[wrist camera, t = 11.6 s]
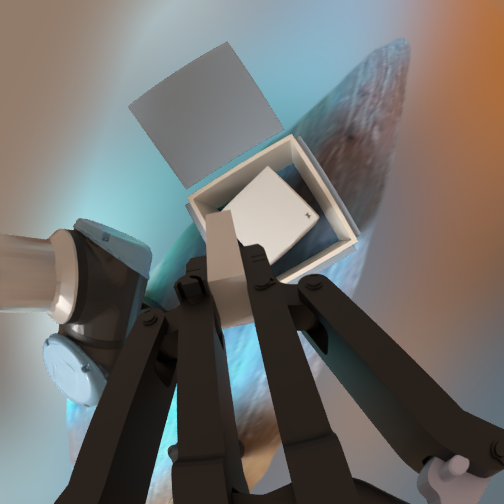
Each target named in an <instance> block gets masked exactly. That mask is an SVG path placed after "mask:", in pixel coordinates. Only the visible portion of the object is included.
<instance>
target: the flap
mask: <svg viewBox="0 0 504 504" xmlns="http://www.w3.org/2000/svg"><path fill="white" fill-rule="evenodd" d="M128 108H129V109H130V110H131V112H132V113H133V115H134V116H135V118H136V119H137V121H138V122H139V123H140V125H141V126H142V128H143V129H144V131H145V132H146V133H147V135H148V136H149V137H150V139H151V140H152V142H153V143H154V145H155V146H156V148H157V149H158V150H159V152H160V153H161V155H162V156H163V157H164V159H165V160H166V162H167V163H168V164H169V166H170V167H171V169H172V170H173V171H174V173H175V174H176V176H177V177H178V178H179V180H180V181H181V182H182V184H183V185H184V187H185V188H186V189H188V188H189V187H191V186H192V185H194V184H195V183H197V182H198V181H200V180H201V179H203V178H205V177H206V176H208V175H209V174H211V173H212V172H214V171H215V170H217V169H218V168H220V167H222V166H223V165H225V164H227V163H228V162H230V161H231V160H233V159H234V158H236V157H238V156H240V155H241V154H243V153H244V152H246V151H248V150H249V149H251V148H253V147H254V146H256V145H258V144H260V143H261V142H263V141H265V140H267V139H268V138H270V137H272V136H273V135H275V134H277V133H279V132H281V131H282V130H284V129H283V127H282V125H281V123H280V122H279V120H278V118H277V117H276V115H275V114H274V112H273V110H272V108H271V107H270V105H269V104H268V102H267V100H266V99H265V97H264V96H263V94H262V92H261V91H260V89H259V88H258V86H257V85H256V83H255V81H254V80H253V78H252V77H251V75H250V74H249V72H248V71H247V69H246V68H245V66H244V65H243V63H242V62H241V61H240V59H239V57H238V56H237V55H236V53H235V52H234V50H233V49H232V47H231V46H230V45H229V43H228V42H225V43H224V44H222V45H220V46H218V47H216V48H214V49H213V50H211V51H209V52H207V53H206V54H204V55H202V56H200V57H199V58H197V59H195V60H194V61H192V62H191V63H189V64H187V65H186V66H184V67H183V68H181V69H180V70H178V71H176V72H175V73H173V74H172V75H170V76H169V77H167V78H166V79H164V80H163V81H162V82H160V83H159V84H157V85H156V86H154V87H153V88H152V89H150V90H149V91H147V92H146V93H145V94H143V95H142V96H141V97H139V98H138V99H137V100H135V101H134V102H133V103H132V104H130V105H129V106H128Z"/></svg>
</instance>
